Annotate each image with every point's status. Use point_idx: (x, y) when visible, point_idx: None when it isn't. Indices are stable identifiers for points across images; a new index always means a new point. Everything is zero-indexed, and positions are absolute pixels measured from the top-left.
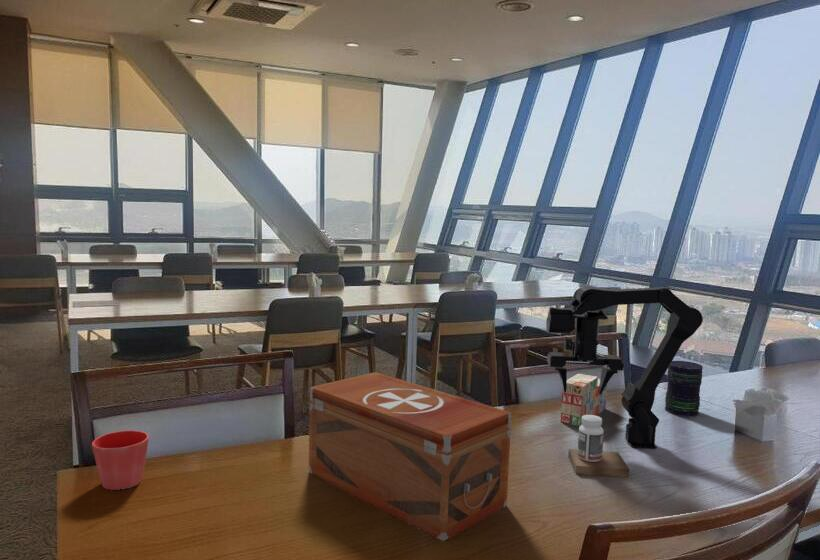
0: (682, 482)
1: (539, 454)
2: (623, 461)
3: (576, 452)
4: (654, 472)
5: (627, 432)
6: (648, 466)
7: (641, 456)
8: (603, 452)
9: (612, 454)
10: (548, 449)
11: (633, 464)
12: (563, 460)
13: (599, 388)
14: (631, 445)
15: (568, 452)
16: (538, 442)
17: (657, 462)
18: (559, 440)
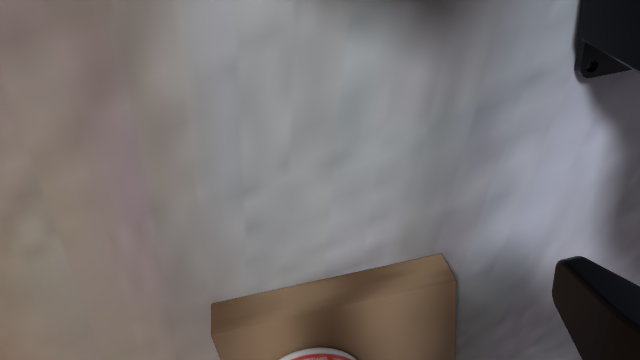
0: None
1: (67, 327)
2: (451, 356)
3: (251, 353)
4: None
5: (616, 35)
6: None
7: (574, 175)
8: (382, 308)
9: (421, 313)
10: (95, 260)
11: (499, 270)
12: (193, 340)
13: (600, 324)
14: (579, 71)
15: (211, 321)
16: (4, 190)
17: (618, 214)
18: (129, 110)
